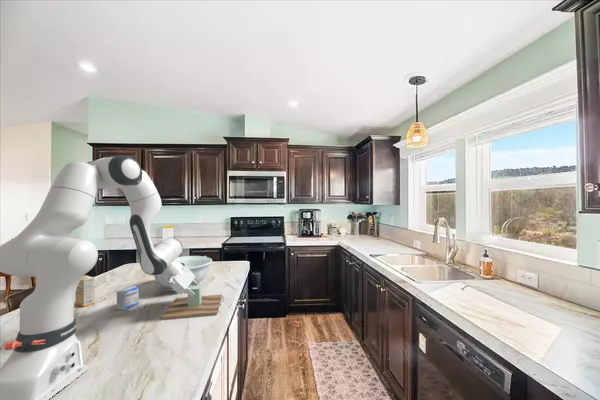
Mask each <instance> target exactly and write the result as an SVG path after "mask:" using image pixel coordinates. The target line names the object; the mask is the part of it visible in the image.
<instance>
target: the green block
mask: <svg viewBox="0 0 600 400" xmlns="http://www.w3.org/2000/svg"><path fill="white" fill-rule="evenodd" d="M189 289H190V290H191V291H194V292H195V293H196V294H195V295H194V296H193V297H191V296H190V295H188V294H187V297H188V307H197V306H200V304H201V302H202V296H203V295H202V285H199V284H198V286H190V287H189Z"/></svg>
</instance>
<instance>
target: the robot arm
mask: <svg viewBox="0 0 600 400" xmlns="http://www.w3.org/2000/svg"><path fill="white" fill-rule="evenodd" d="M118 188H119V189H120V190H122V192H123V194H124V195H125V198H126V200H127V202H128V205H129V208H130V218H129V222H128V223H129V228H130V231H131V234H132V237H133V241H134V244H135V247H136V251H137V253H138V256H139V257H138V258H139V265H140V268H141V271H143V272H144V273H145V274H146V275H150V276H154V275H159V274H160V275H161V276H162V277H163V278H164V279H165V280H167V281H168V282H169V285H170V286H171V287H172V288H173V289H174V290H175V291H174V292H176V293H177V294H178V295H183V294H186V295H187V296H188V295H190V296H191V297H193V296H194V295H195V294H196V293H195V292H194V291H191V290H190V289H189V288H188V286H189V285H190V284H191V285H192V286H198V285H199V283H196V281H195V280H194V278H195V275H194V274H193V273H192V272H191V271H190V270H189V269H188V268H187V267H185V266H186V265H185V264H184V263H180V262H178V261H177V260H175V259H176V258H177V257H180V256H181V254H182V253H183V250H184V248H183V244H182V242H181V241H180V240H178V239H177V238H175V237H172V236H171V237H166V238H165V239H163V240H161V241H158V242H153V240H152V236H151V234H150V229H151V226H152V223H153V221H154V220H155V218H156V217H157V215H158V214H159V213H160V211H161V210H162V199H161V196H160V194H159V192H158V189H157V187H156V186H155V183H154V182H153V180H152V179H151V178H150V176H149V174H148V172H146V171H145V170H143V168H142V167H141V165H140V164H139V162H138V161H137V160H136V159H135V158H133V157H131V156H129V155H115V156H109V157H103V158H101V157H100V158H99V159H96V160H91V161H88V162H83V161H71V162H69V163H66V164H65V165H64V166H63V167H62V168H61V169H60V171H59V173H58V174H57V175H56V177H55V179H54V180H53V182H52V184H51V186H50V187H49V190H48V193H47V195H46V196H45V199H44V200H43V202H42V205H41V207H40V208H39V211H38V212H37V214H36V216H35V217H34V218H33V219H32V220H31V222H30V223H29V224H27V226H26V227H25V228H24V229H23V230H22V231H21V232H20V233H19V234H17V235H16V236H15V237H14V238H12V239H10V240H8V241H6V242H5V243H3V244H1V245H0V272H1V273H3V274H5V275H10V276H15V277H20V278H37V281H36V286H35V288H34V290H33V292H32V293H31V294H29V295H27V296H26V297H25V298H24V299H23V300H22V301H21V302H20V304H19V331H18V332H17V334H16V337H15V339H14V340H9V341H6V342H5V344H4V345H3V350H5V351H10V350H13V351H12V353H11V354H10V355H9V357H8V358H7V359H6V360H5V362H4V363H3V365H2V366H1V368H0V400H47V399H49V398H50V397H52V396H53V395H54V394H56V393H57V392H58V391H60V390H61V389H62V388H64V387H65V386H67V385H68V384H69V385H70V384H72V383H73V382H74V381H75V380H77V379H78V378H79V377H80V376H82V375H83V374H84V373H85V371H86V370H88V365H86V364H85V363H83V355H82V354H83V353H82V343H81V341H80V340H79V338H77V335H76V334H75V333H76V332H77V319H76V318H75V300H76V289H77V286H78V284H79V282H80V280H81V278H82V277H83V276H85V275H87V273H88V272H90V271H91V270H92V269H93V268H94V267H95V266H96V264H97V261H98V258H99V252H98V248H97V246H96V244H94V242H92V241H89V240H86V239H82V238H77V237H68V236H69V235H70V234H71V233H72V232H74V231H75V230H76V229H79V227H80V228H81V227H82V226H83V225H84V224H86V222H87V221H88V218H89V216H90V213H91V211H92V208H93V205H94V203H95V199H96V197H97V194H98V191H100V190H101V191H102V190H105V189H106V190H109V189H110V190H111V189H118ZM86 372H87V371H86ZM82 373H83V374H82ZM81 374H82V375H81ZM77 377H78V378H77ZM76 378H77V379H76ZM71 382H72V383H71ZM69 385H68V386H69ZM68 386H67V387H68ZM65 388H66V387H65ZM65 388H64V389H65ZM60 392H61V391H60ZM56 395H57V394H56Z"/></svg>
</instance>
